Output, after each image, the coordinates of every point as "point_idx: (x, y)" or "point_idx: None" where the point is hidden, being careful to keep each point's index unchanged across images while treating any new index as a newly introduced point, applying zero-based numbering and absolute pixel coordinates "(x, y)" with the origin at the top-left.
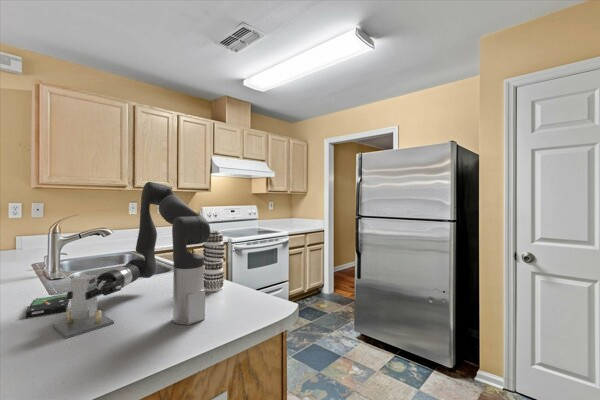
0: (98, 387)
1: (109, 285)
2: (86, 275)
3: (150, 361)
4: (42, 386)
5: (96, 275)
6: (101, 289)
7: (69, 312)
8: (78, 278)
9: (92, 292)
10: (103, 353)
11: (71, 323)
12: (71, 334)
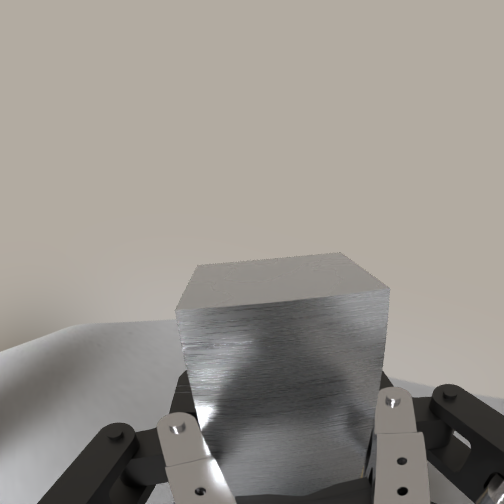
0: (81, 329)
1: (97, 476)
2: (310, 293)
3: (19, 360)
4: (156, 327)
5: (178, 307)
6: (151, 433)
7: (363, 466)
8: (286, 260)
9: (184, 381)
10: (95, 382)
11: None
12: None
